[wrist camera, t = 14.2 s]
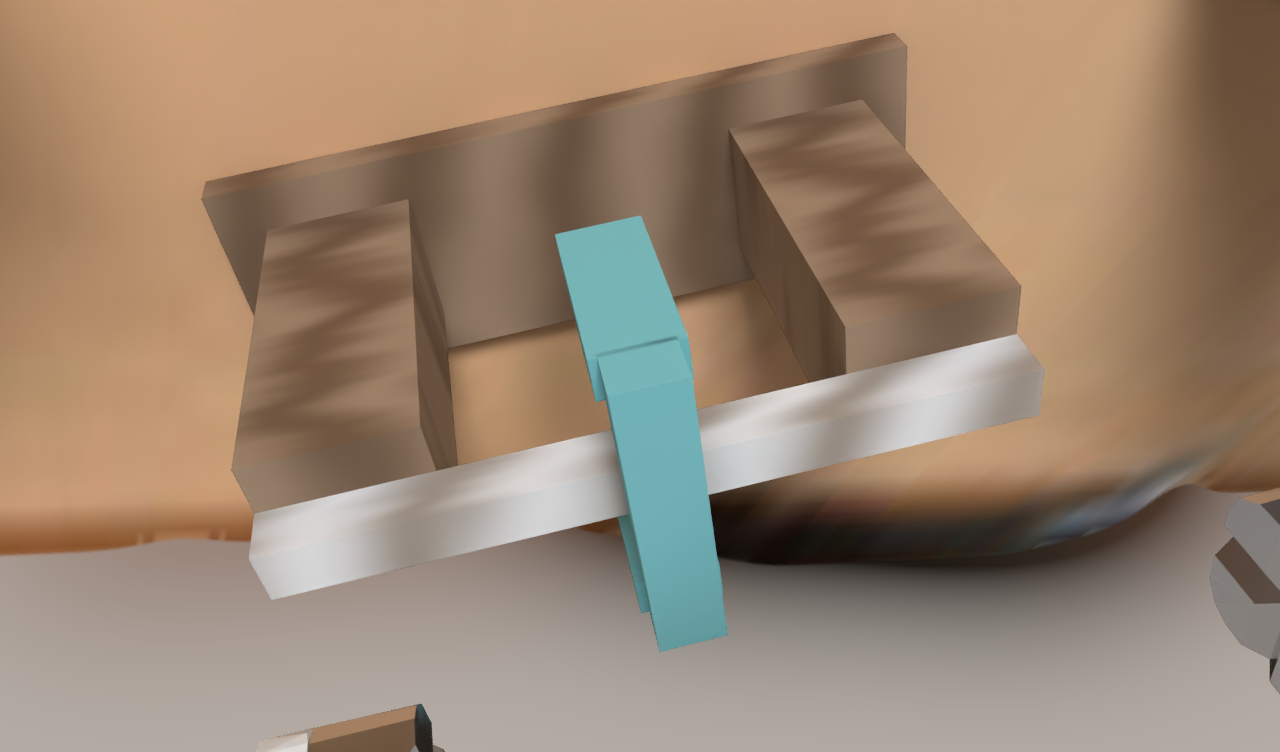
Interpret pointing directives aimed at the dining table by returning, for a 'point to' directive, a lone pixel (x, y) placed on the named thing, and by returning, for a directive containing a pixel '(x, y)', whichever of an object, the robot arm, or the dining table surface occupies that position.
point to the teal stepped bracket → (648, 424)
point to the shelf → (537, 296)
